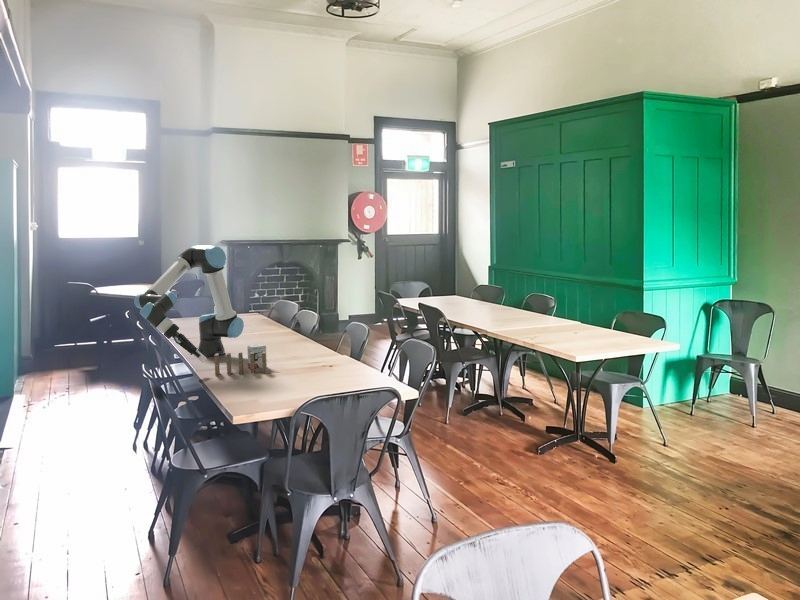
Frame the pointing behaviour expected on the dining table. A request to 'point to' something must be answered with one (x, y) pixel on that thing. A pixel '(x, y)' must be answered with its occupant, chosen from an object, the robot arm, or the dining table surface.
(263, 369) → the domino
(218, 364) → the head domino
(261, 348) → the ink box
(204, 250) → the robot arm
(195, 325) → the dining table surface
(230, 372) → the domino
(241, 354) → the domino
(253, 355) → the domino
